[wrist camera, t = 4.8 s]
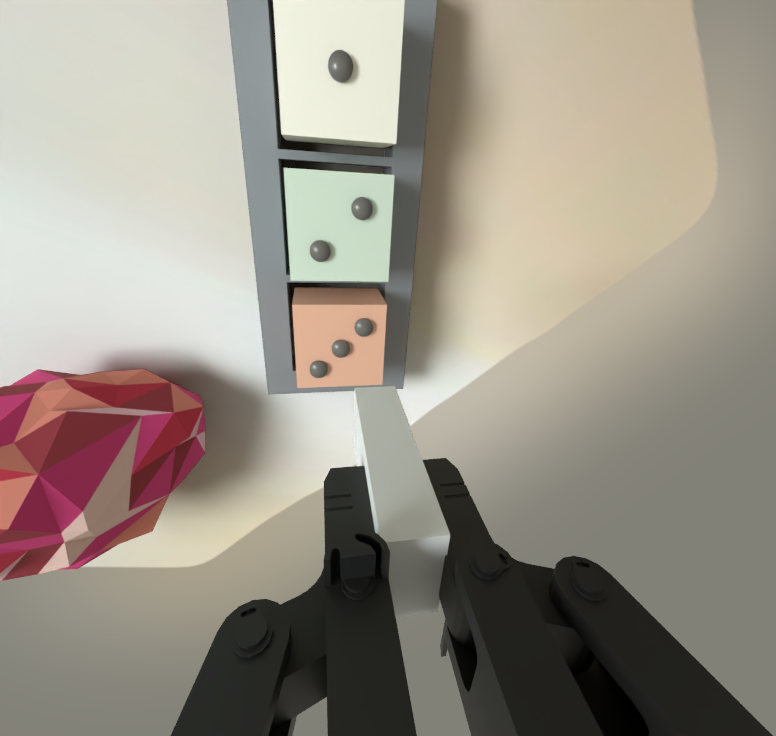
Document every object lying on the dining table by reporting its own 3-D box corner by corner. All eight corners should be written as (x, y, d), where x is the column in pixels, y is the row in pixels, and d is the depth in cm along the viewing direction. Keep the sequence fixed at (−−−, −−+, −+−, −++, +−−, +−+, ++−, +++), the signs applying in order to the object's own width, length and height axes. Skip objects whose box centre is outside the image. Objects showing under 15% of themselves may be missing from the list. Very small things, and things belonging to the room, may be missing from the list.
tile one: (286, 140, 22) (280, 133, 19) (278, 8, 20) (270, -31, 16) (383, 148, 23) (397, 143, 20) (389, 24, 21) (406, -9, 17)
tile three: (299, 362, 29) (297, 390, 25) (294, 287, 26) (291, 306, 23) (374, 360, 30) (383, 386, 27) (377, 288, 28) (387, 306, 24)
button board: (271, 376, 32) (268, 394, 29) (231, -42, 20) (219, -74, 18) (396, 372, 34) (403, 388, 31) (425, -10, 22) (440, -35, 20)
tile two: (293, 266, 26) (290, 281, 22) (287, 168, 23) (283, 167, 19) (378, 267, 27) (389, 283, 23) (382, 174, 24) (395, 175, 20)
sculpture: (131, 290, 26) (-265, 444, 20) (191, 419, 21) (-338, 698, 14) (207, 391, 38) (-27, 510, 31) (259, 491, 32) (-13, 665, 25)
